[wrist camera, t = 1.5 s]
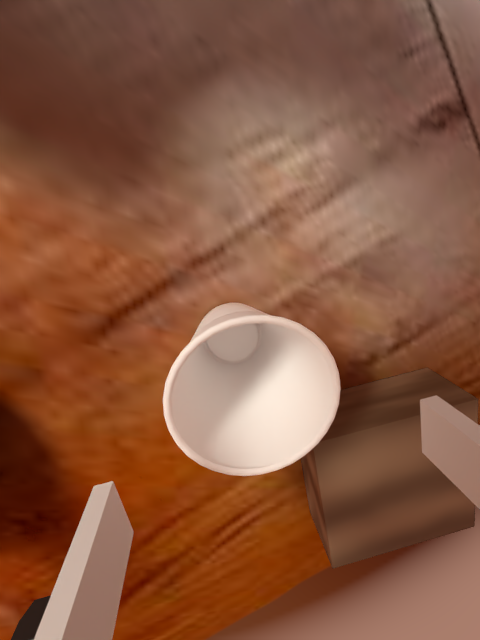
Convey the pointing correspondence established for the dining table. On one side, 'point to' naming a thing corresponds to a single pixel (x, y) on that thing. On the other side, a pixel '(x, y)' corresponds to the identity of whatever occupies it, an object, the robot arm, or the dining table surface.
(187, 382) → the cup
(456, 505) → the walnut block
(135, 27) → the dining table surface
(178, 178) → the dining table surface
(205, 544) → the dining table surface
